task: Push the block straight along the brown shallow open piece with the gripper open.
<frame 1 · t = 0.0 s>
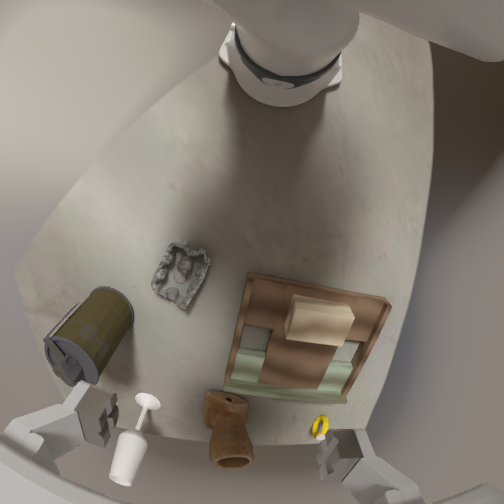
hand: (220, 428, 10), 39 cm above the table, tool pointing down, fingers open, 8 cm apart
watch: (318, 418, 64), on the table
brown shallow open piece: (302, 340, 55), on the table
egg carton: (182, 268, 50), on the table
canister: (110, 308, 53), on the table
champagne flute: (148, 401, 63), on the table
block: (316, 314, 50), point 2 cm above the table, touching brown shallow open piece
clay pipe: (230, 409, 63), on the table
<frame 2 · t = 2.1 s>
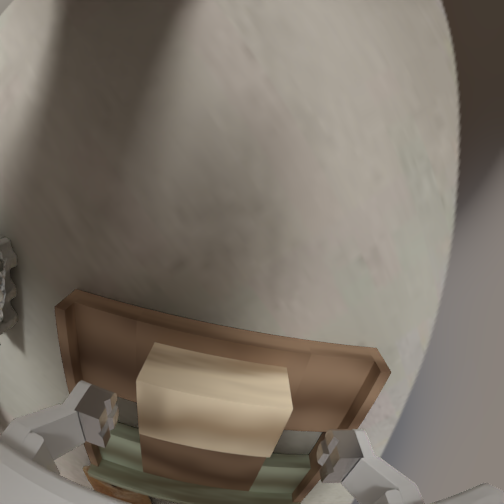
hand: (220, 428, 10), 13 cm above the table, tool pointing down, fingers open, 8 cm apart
brown shallow open piece: (206, 423, 26), on the table
block: (214, 385, 22), point 2 cm above the table, touching brown shallow open piece
clay pipe: (130, 489, 32), on the table
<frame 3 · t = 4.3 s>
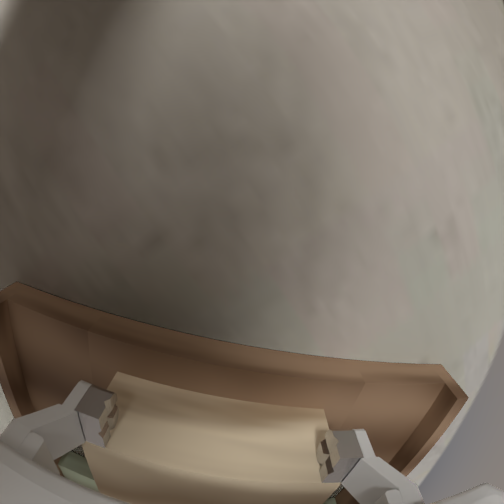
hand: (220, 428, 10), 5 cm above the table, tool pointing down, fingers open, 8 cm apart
brown shallow open piece: (203, 469, 17), on the table
block: (212, 434, 13), point 2 cm above the table, touching gripper, brown shallow open piece
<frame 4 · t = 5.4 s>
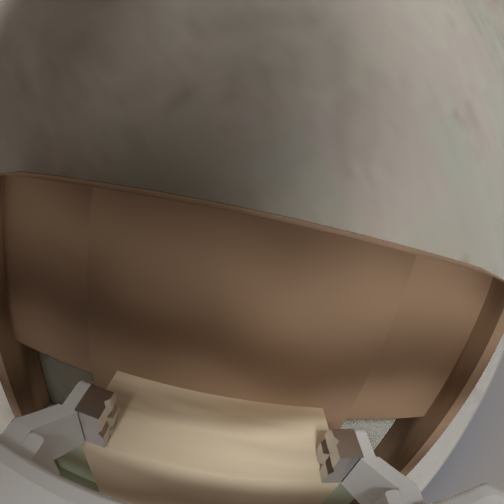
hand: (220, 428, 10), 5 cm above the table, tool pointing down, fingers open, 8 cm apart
brown shallow open piece: (214, 417, 15), on the table
block: (212, 433, 13), point 2 cm above the table, touching brown shallow open piece
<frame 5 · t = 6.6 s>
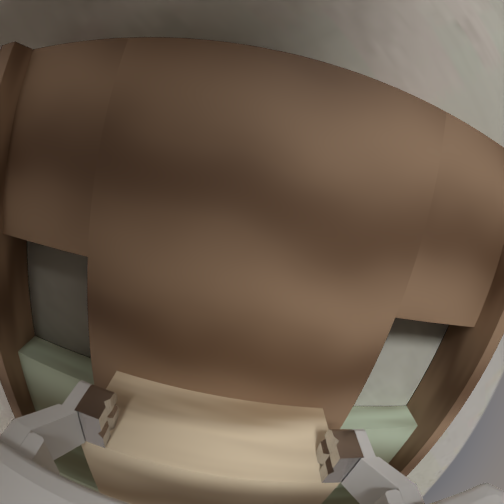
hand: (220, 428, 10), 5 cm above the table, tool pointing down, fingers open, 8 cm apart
brown shallow open piece: (233, 332, 14), on the table
block: (211, 433, 13), point 2 cm above the table, touching gripper, brown shallow open piece
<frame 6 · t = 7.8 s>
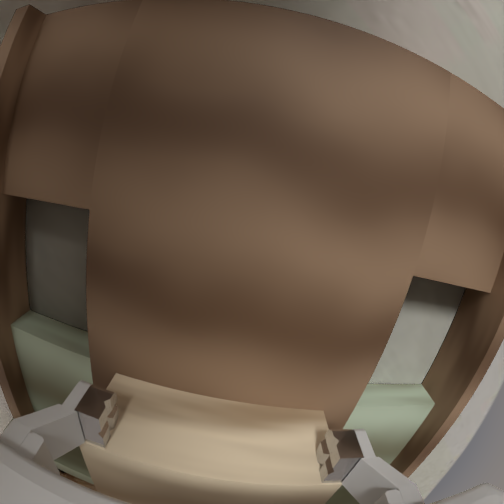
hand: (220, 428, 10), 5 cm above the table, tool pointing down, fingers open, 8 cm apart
brown shallow open piece: (241, 297, 13), on the table
block: (211, 436, 13), point 2 cm above the table, touching gripper, brown shallow open piece
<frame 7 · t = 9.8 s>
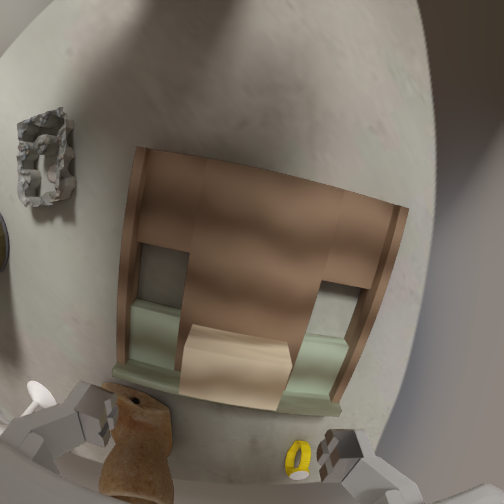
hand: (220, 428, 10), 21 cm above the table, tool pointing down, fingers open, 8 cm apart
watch: (295, 445, 37), on the table
brown shallow open piece: (250, 288, 31), on the table
egg carton: (54, 159, 28), on the table
champagne flute: (42, 395, 36), on the table
block: (234, 357, 31), point 2 cm above the table, touching brown shallow open piece
clay pipe: (148, 421, 36), on the table
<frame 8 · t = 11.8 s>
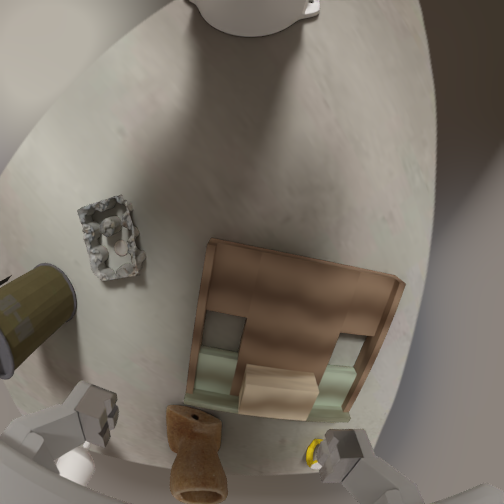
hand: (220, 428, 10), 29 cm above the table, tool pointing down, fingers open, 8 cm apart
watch: (313, 442, 48), on the table
brown shallow open piece: (288, 337, 41), on the table
egg carton: (118, 235, 38), on the table
canister: (52, 292, 40), on the table
champagne flute: (102, 415, 47), on the table
block: (276, 384, 41), point 2 cm above the table, touching brown shallow open piece
clay pipe: (200, 430, 47), on the table
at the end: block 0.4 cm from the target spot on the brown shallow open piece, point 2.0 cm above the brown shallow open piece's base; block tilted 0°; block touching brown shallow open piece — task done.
